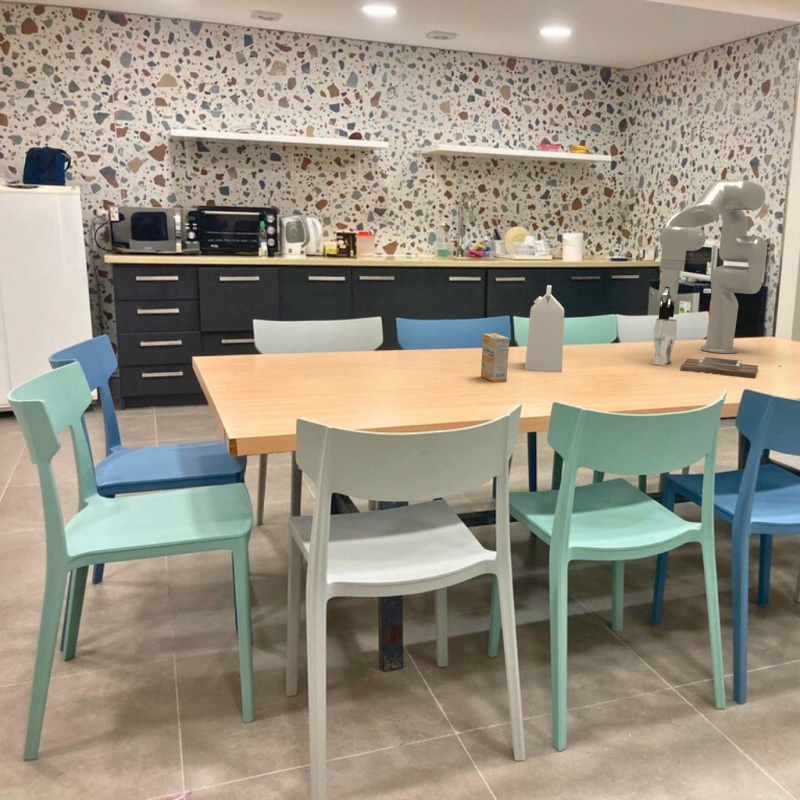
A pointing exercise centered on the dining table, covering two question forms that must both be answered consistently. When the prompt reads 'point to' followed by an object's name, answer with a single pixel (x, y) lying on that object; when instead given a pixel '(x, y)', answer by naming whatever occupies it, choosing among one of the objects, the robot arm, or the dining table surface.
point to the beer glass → (664, 341)
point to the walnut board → (720, 367)
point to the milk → (545, 334)
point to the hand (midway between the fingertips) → (665, 318)
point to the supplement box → (495, 357)
